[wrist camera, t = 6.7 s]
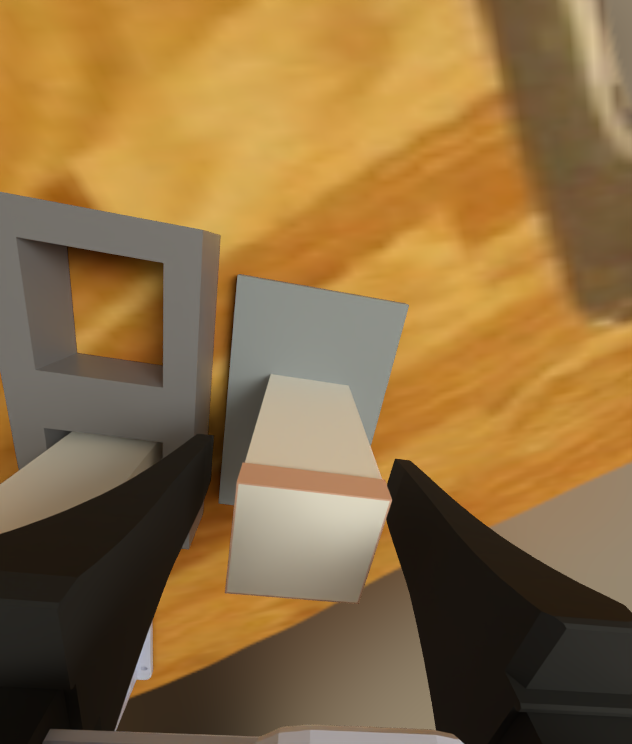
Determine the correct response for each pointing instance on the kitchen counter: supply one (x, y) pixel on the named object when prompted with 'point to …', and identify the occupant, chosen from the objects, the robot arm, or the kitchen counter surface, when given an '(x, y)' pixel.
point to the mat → (303, 354)
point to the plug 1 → (72, 475)
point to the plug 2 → (306, 497)
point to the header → (94, 373)
